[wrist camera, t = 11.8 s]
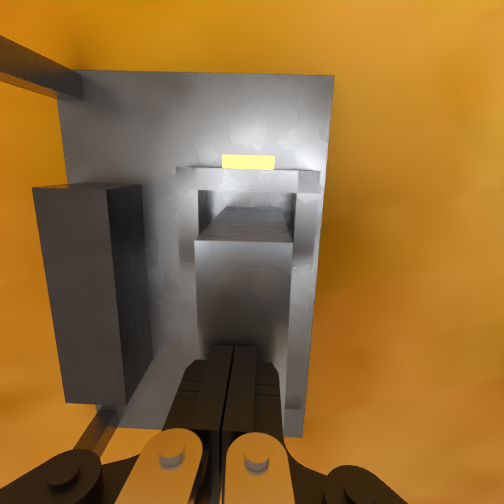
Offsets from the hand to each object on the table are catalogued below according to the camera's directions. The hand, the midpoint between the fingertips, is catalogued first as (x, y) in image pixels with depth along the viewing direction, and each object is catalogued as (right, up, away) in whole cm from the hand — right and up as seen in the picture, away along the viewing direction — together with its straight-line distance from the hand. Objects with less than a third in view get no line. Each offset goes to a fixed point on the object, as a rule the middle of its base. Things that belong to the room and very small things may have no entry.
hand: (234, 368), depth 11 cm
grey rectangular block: (+1, +2, +8) cm, 8 cm away
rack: (-3, +2, +9) cm, 10 cm away
